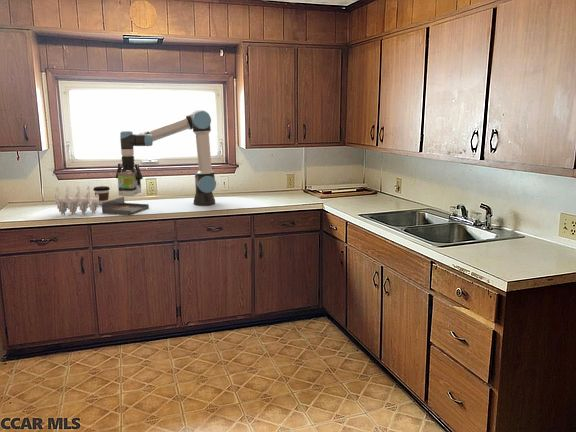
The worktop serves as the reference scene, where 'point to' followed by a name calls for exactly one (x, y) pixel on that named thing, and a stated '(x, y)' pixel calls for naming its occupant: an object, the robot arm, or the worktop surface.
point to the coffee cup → (102, 193)
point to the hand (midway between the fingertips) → (129, 189)
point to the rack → (122, 207)
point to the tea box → (127, 184)
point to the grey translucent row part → (76, 202)
